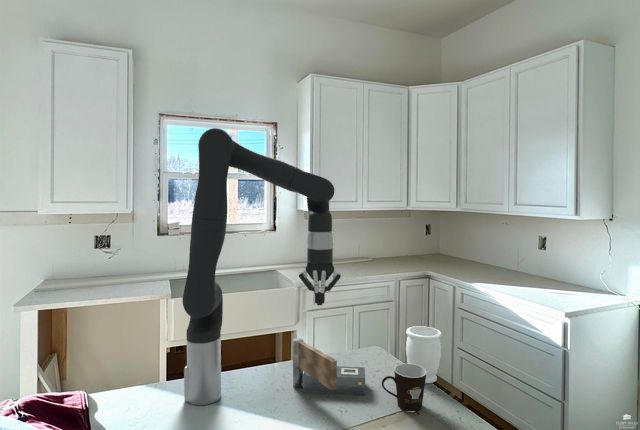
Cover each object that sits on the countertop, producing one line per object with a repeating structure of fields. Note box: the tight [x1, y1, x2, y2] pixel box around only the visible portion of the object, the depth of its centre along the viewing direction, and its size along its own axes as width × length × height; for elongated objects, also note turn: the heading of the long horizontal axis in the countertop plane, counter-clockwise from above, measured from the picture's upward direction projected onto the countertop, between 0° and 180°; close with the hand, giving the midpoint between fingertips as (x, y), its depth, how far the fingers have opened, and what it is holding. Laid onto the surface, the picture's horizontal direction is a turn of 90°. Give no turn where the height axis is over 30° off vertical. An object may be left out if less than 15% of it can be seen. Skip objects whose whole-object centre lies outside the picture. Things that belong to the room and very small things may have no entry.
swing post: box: [292, 366, 304, 389], centre depth 118 cm, size 3×3×6 cm
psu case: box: [302, 365, 366, 396], centre depth 116 cm, size 18×7×5 cm, turn 85°
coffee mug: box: [381, 362, 427, 413], centre depth 107 cm, size 12×9×10 cm
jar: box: [405, 325, 442, 384], centre depth 123 cm, size 11×10×15 cm
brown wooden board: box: [292, 338, 338, 391], centre depth 111 cm, size 20×3×8 cm, turn 35°
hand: (319, 304), depth 116 cm, fingers closed
